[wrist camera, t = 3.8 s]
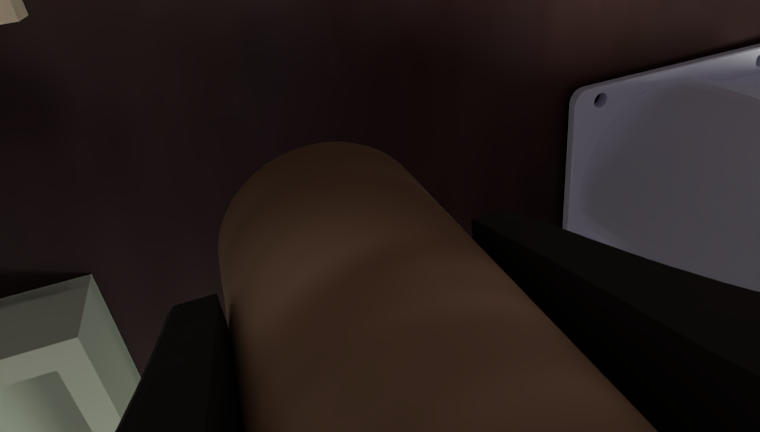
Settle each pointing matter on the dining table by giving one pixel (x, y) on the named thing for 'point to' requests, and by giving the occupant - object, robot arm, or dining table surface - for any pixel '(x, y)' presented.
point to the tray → (62, 361)
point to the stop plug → (388, 312)
